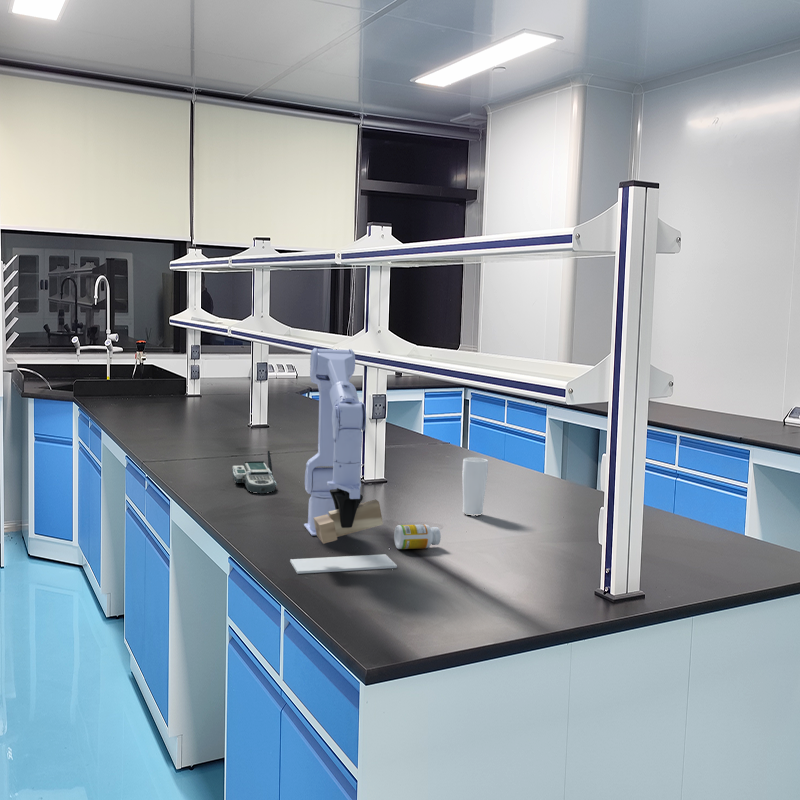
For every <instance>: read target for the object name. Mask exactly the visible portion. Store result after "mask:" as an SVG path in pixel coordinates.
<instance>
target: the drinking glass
mask: <svg viewBox="0 0 800 800" xmlns="http://www.w3.org/2000/svg"><path fill="white" fill-rule="evenodd" d="M488 471H489V460H488V459H486V458H482V457H472V456H471V457H464V458H463V460H462V470H461V472H462V473H461V475H462V476H461V479H462V480H461V482H462V484H461V485H462V513H463V512H464V513H466V514H473V515H474V514H481V513H482V514H483V512H484V503H485V496H486V488H487V482H488ZM464 513H463V514H464Z"/></svg>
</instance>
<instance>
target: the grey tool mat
mask: <svg viewBox="0 0 800 800" xmlns="http://www.w3.org/2000/svg"><path fill="white" fill-rule="evenodd" d="M289 562H290V564H291V565H292V567H293V569H294V571H295V572H296V574H298V575H299V574H314V573H315V574H317V573H330V572H332V573H333V572H349V571H351V572H352V571H365V570H366V571H367V570H368V571H369V570H383V569H397V568H398V565H397V564H396V563H395V562H394V561H393V560H392V559H391V558H390V557H389V556H388V555H387V554H369V555H368V554H364V555H346V556H345V555H344V556H327V557H310V558H293V559H292V558H290V560H289Z"/></svg>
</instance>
